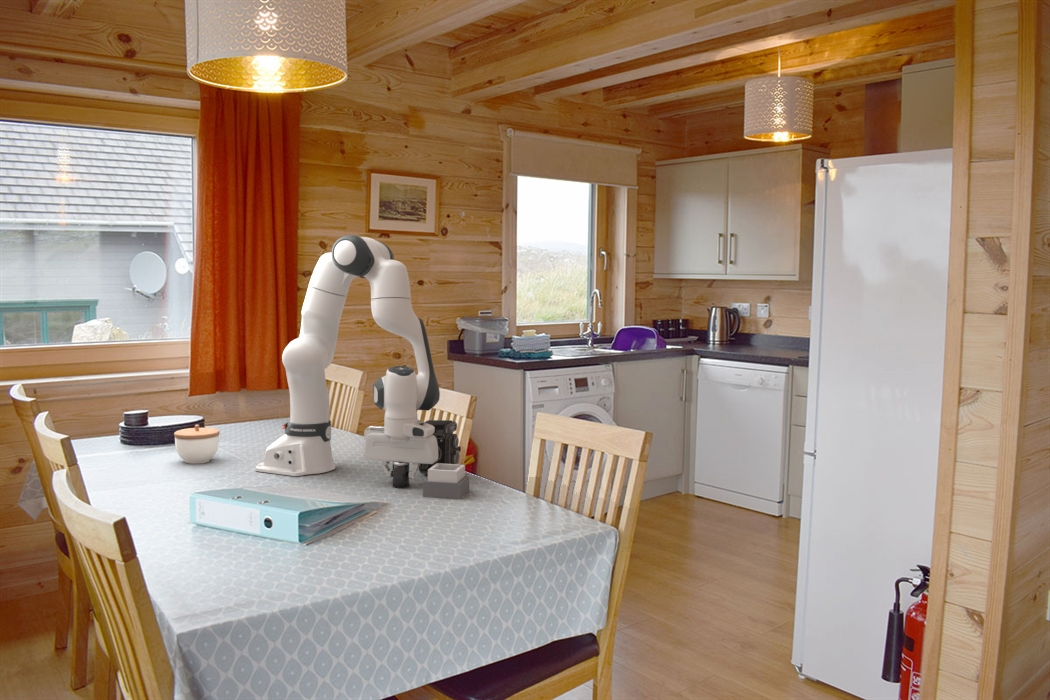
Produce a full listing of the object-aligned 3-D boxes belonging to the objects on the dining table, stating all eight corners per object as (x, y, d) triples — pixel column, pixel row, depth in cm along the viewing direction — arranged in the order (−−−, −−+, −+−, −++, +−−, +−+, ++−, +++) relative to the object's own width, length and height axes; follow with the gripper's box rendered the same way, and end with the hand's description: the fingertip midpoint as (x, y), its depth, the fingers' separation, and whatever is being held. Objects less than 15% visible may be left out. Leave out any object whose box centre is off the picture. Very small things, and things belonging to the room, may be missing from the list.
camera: (452, 478, 225) (453, 426, 224) (417, 476, 228) (417, 424, 226) (462, 470, 236) (463, 419, 234) (428, 468, 238) (429, 418, 236)
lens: (389, 488, 214) (389, 462, 214) (395, 483, 219) (395, 458, 218) (406, 489, 213) (406, 463, 213) (411, 484, 218) (411, 459, 217)
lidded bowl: (165, 463, 238) (164, 426, 237) (197, 455, 250) (196, 420, 249) (198, 467, 233) (197, 430, 232) (229, 459, 245) (228, 423, 244)
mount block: (422, 496, 206) (422, 470, 205) (433, 488, 215) (433, 462, 214) (460, 499, 204) (460, 472, 204) (469, 490, 213) (469, 464, 212)
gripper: (359, 427, 214) (359, 478, 215) (433, 431, 210) (433, 483, 211) (368, 423, 220) (368, 472, 221) (440, 427, 216) (440, 477, 217)
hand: (400, 477), depth 216 cm, fingers open, 5 cm apart
